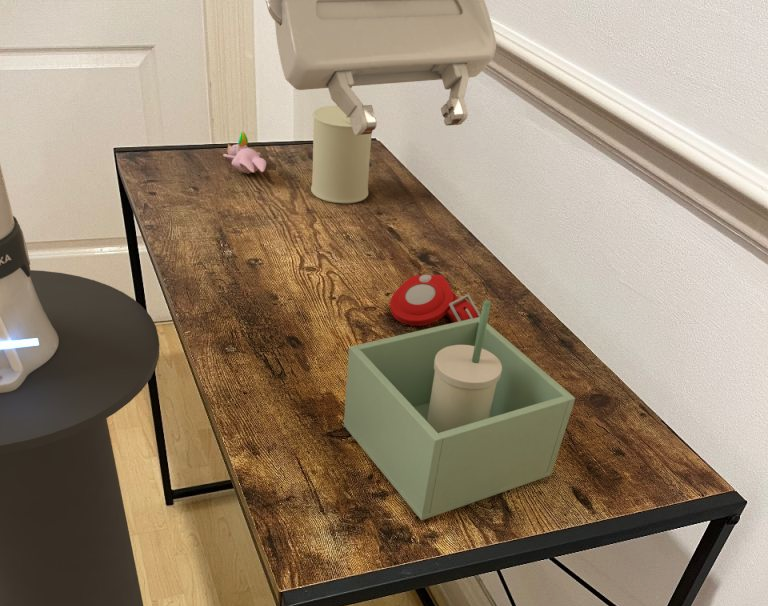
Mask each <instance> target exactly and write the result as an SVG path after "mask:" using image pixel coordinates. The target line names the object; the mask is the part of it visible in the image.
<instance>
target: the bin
mask: <svg viewBox="0 0 768 606" xmlns="http://www.w3.org/2000/svg"><path fill="white" fill-rule="evenodd" d="M479 321H480V317H477V318H472V319H468V320H464V321H459V322H455V323H452V322H451V323H447V324H442V325H438V326H434V327H430V328H429V327H428V328H425V329H420V330H416V331H412V332H408V333H404V334H399V335H394V336H390V337H385V338H381V339H377V340H373V341H368V342H364V343H360V344H355V345H351V346H348V356H347V357H348V358H347V372H346V384H345V385H346V388H345V389H346V390H345V401H344V415H343V427H344V428H345V429H346V430H347V431H348V433H349V434H350V436H351V437H352V438H353V440H355V441H356V442H357V444H358V445H359V446H360V448H361V449H362V450H363V451H364V453H366V455H367V456H368V457H369V458H370V460H371V461H372V462H373V463H374V465H376V467H377V468H378V469H379V471H380V472H381V473H382V474H383V476H384V477H385V478H386V479H387V480H388V482H389V483H390V484H391V485H392V486H393V488H394V489H395V490H396V491H397V493H398V494H399V495H400V496H401V497H402V499H403V500H404V501H405V502H406V503H407V505H408V506H409V508H410V509H411V510H412V511H413V512H414V514H415V515H416V516H417V517H418V518H419V520H420V521H424V520H428V519H431V518H433V517H435V516H439V515H441V514H444V513H447V512H450V511H453V510H456V509H459V508H462V507H465V506H467V505H470V504H473V503H476V502H479V501H481V500H484V499H487V498H490V497H494V496H496V495H499V494H501V493H505V492H507V491H510V490H513V489H516V488H519V487H521V486H525V485H528V484H530V483H533V482H536V481H539V480H542V479H545V478H548V477H550V476H552V474H553V470H554V467H555V464H556V461H557V458H558V455H559V452H560V451H559V450H560V448H561V445H562V442H563V438H564V436H565V434H566V433H565V432H566V429H567V427H568V423H569V420H570V417H571V414H572V410H573V407H574V405H575V401H576V397H575V396H574V395H572V393H570V392H569V391H568V390H567V389H565V388H564V387H563V386H562V385H560V383H558V382H557V381H556V380H555V379H554V378H552V377H551V376H550V375H549V374H548V373H546V372H545V370H543V369H542V368H541V367H539V366H538V364H536V362H534V361H533V360H532V359H530V358H529V357H528V356H526V354H525V353H523V352H522V351H521V350H519V348H517V347H516V346H515V345H514V344H513V343H511V342H510V341H509V340H508V339H507V338H505V336H503V335H502V334H501V333H500V332H498V331H497V330H496V329H495V328H494V327H493V326H492V325H490V324H489V323H488V322H487V326H486V330H485V335H484V340H483V345H482V349H485V350H487V351H489V352H491V353H492V354H494V355H495V356H496V357H497V358H498V359H499V361H500V362H501V365H502V372H501V376H500V379H499V380H498V382H497V384H496V388H495V393H494V397H493V401H492V406H491V410H490V414H489V418H488V419H484V420H481V421H478V422H474V423H471V424H467V425H464V426H461V427H457V428H454V429H451V430H447V431H444V432H441V433H439V434H438V433H437V432H436V431H435V429H434V428H433V427H432V426H431V425H430V424H429V423H428V422H427V417H428V411H429V405H430V399H431V393H432V386H433V380H434V374H435V370H434V361H435V356H436V354H437V353H438V352H439V351H440V350H441V349H443V348H445V347H448V346H453V345H471V346H475V342H476V337H477V331H478V326H479Z"/></svg>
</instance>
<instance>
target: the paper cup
mask: <svg viewBox="0 0 768 606" xmlns="http://www.w3.org/2000/svg"><path fill="white" fill-rule="evenodd" d="M491 307H492V302H491V300H489V299H485V300H484V301H483V302H482V307H481V312H480V315H481V316H480V321H479V326H478V331H477V337H476V342H475V346H471V345H453V346H448V347H445V348H443V349H441V350H440V351H439V352H438V353H437V354H436V356H435V361H434V370H435V374H434V380H433V386H432V393H431V399H430V405H429V411H428V417H427V422H428V423H429V424H430V425H431V426H432V427H433V428H434V429H435V431H436V432H437V433H438V434H439V433H441V432H444V431H447V430H451V429H454V428H457V427H461V426H464V425H467V424H471V423H474V422H478V421H481V420H484V419H488V418H489V414H490V410H491V406H492V401H493V397H494V393H495V388H496V384H497V382H498V380H499V379H500V376H501V372H502V365H501V362H500V361H499V359H498V358H497V357H496V356H495V355H494V354H492V353H491V352H489V351H487V350H485V349H482V345H483V340H484V335H485V330H486V326H487V323H488V320H489V315H490V310H491Z"/></svg>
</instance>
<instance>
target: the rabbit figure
mask: <svg viewBox="0 0 768 606" xmlns="http://www.w3.org/2000/svg"><path fill="white" fill-rule="evenodd" d="M237 141H238V142H237V143H236V144H233V145H231V144H229V143H227V149H226V153H223V154H222V157H223V158H227V159H229V160H231V165H232V167H233V168H235V169H236V170H238V171H241V172H242V173H243V174H247V175H250V174H252V173H256V172H257V171H260V172H261V173H264V172H265V171H266V168H267V161H266V159H264V158H262V157H261V152H259V151H258V152H257V151H256V150H254V149H253V148H249V147H248V145H247V144H248V143H249V139H248V137H247V135H246V133H245V132H244V131H240V135H239V138H238V140H237Z"/></svg>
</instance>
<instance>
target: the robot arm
mask: <svg viewBox="0 0 768 606" xmlns="http://www.w3.org/2000/svg"><path fill="white" fill-rule="evenodd" d="M265 5H266V7H267V10H268V13H269V15H270V17H271V18H272V19H273V21H274V24H275V25H274V27H275V35H276V36H275V37H276V44H277V49H278V55H279V61H280V64H281V69H282V72H283V76H284V78H285V80H286V81H287V82H288V83H289V84H290V85H291V86H292V87H293V88H294V89H295V90H298V91H305V90H318V89H328V92H329V95H330V98H331V99H330V100H332V101H333V103H334V104H335V106H338V107H339V108H340V109H341V110H342V111H343V112H344V113H345V114H346V115H347V117H349V118H350V122H351V125H352V129H353V132H354V134H355V135H364V134H371V133H372V134H373V131H374V130H375V129H376V128H377V119H376V117H375V115H374V114H375V111H374V108H373V105H372V104H369V105H368V104H365V105H364V103H363V102H362V101H361V99H360V98H359V97H358V96H357V95H356V93H355V92H354V91H353V90H352V87H357V86H358V87H360V86H372V85H387V84H399V83H400V84H401V83H413V82H426V81H441V80H442V84H443V87H444V89H445V90H450V91H449V97H448V100H446V103H444V104H443V105H442V107H440V112H441V115H442V117H443V118H444V119H443V122H444V125H445V126H460V125H462V124H463V123H464V122H465V121H466V120H467V119H468V108H467V105H466V102H465V96H466V91H467V87H468V82H469V78H475V77H477V76H478V75H480V73H481V72H483V70H484V69H486V67H487V66H488V65H489V64H490V63H491V62H492V61H493V59H494V56H495V54H496V50H497V41H496V35H495V31H494V28H493V27H494V26H493V23H492V20H491V17H490V13H489V10H488V7H487V4H486V1H485V0H265ZM30 270H31V261H30V256H29V251H28V247H27V243H26V239H25V236H24V232H23V229H22V228H21V226H20V224H19V222H18V219H17V217H15V215H14V214H13V210H12V207H11V202H10V197H9V194H8V189H7V186H6V182H5V178H4V174H3V170H2V166H1V164H0V393H5V392H10V391H13V390H15V389H17V388H18V387H19V386H20V385H21V384H22V383H23V381H24V380H25V379H26V377H27V375H29V374H30V373H31V372H32V371H34V370H36V369H37V368H39V367H40V366H42V365H43V364H45V363H46V362H47V361H48V360H49V359H50V358H51V357H52V356H53V355H54V353H55V352H56V350H57V348H58V344H59V338H58V335H57V332H56V331H55V329H54V328H53V326H52V325H51V323H50V321H49V319H48V318H47V316H46V314H45V312H44V310H43V307H42V305H41V303H40V301H39V298H38V296H37V293H36V291H35V288H34V286H33V283H32V280H31V277H30V274H31V271H30Z"/></svg>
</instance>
